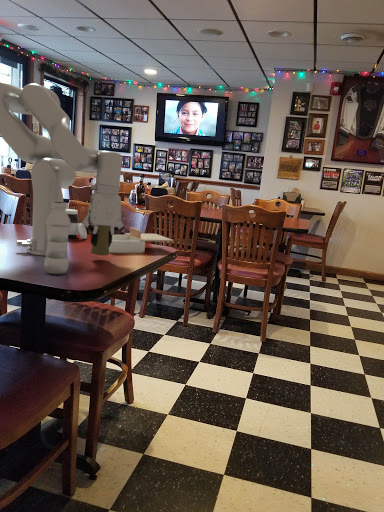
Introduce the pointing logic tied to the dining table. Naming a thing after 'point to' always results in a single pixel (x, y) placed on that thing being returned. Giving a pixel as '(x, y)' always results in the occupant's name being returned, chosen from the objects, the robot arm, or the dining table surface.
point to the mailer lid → (145, 236)
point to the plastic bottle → (57, 239)
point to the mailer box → (126, 245)
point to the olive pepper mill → (102, 241)
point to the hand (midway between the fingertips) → (100, 244)
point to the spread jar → (75, 225)
